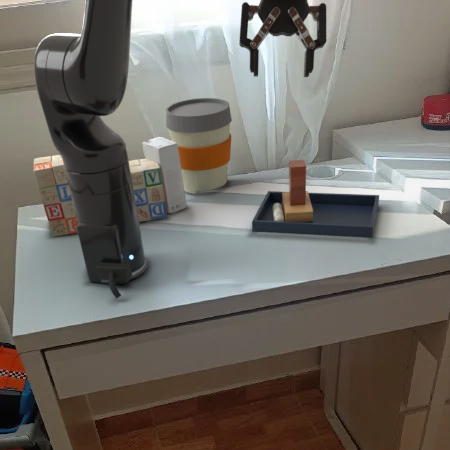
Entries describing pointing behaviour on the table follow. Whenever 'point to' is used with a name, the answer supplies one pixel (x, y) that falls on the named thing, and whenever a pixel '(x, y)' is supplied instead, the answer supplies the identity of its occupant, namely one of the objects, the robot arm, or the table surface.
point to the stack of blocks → (62, 201)
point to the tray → (323, 215)
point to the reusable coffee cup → (201, 141)
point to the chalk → (278, 212)
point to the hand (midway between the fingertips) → (281, 76)
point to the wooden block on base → (297, 195)
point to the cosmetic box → (168, 171)
